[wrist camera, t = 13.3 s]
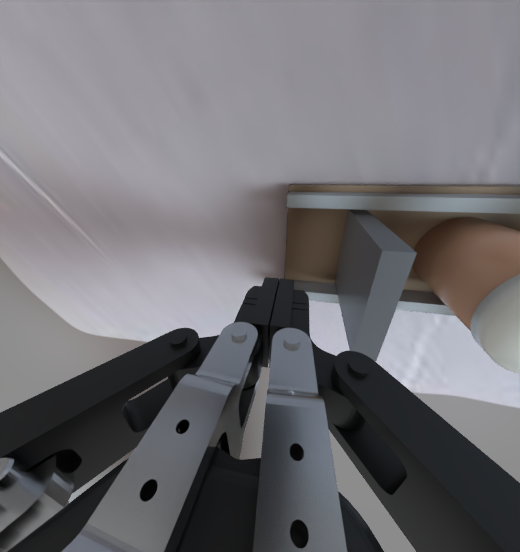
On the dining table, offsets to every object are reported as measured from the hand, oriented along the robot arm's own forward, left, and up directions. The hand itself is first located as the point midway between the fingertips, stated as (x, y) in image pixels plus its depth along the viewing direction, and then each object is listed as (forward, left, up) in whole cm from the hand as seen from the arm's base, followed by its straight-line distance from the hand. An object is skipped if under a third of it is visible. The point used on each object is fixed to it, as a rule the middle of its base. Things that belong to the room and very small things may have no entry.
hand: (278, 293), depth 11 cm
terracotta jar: (-12, 0, -7) cm, 14 cm away
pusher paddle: (-5, 0, -7) cm, 9 cm away
